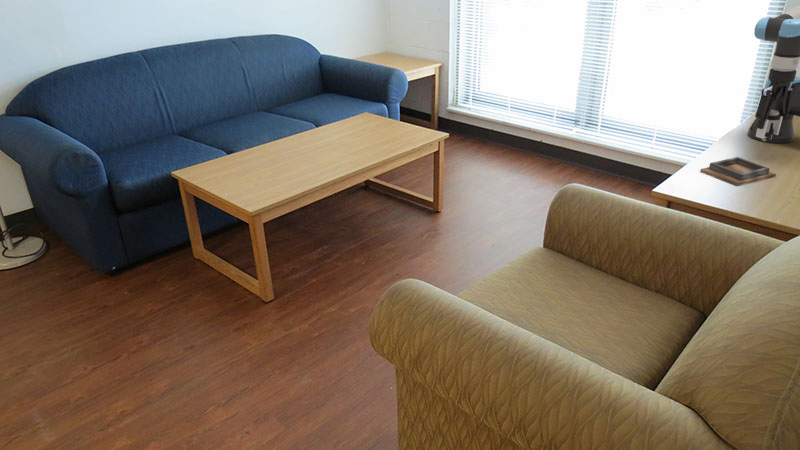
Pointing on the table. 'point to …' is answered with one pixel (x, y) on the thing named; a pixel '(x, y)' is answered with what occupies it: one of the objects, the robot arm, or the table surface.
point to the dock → (737, 171)
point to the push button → (771, 124)
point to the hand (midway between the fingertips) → (766, 135)
